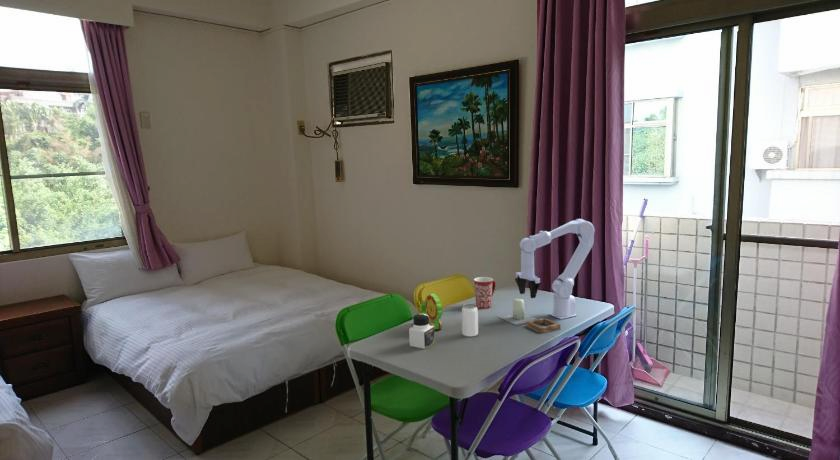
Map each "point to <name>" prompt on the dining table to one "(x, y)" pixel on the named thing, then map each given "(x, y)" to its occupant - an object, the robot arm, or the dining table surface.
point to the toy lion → (432, 310)
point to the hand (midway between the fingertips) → (527, 295)
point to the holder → (550, 327)
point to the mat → (514, 321)
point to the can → (469, 320)
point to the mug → (484, 291)
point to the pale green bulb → (518, 309)
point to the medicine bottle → (421, 332)
